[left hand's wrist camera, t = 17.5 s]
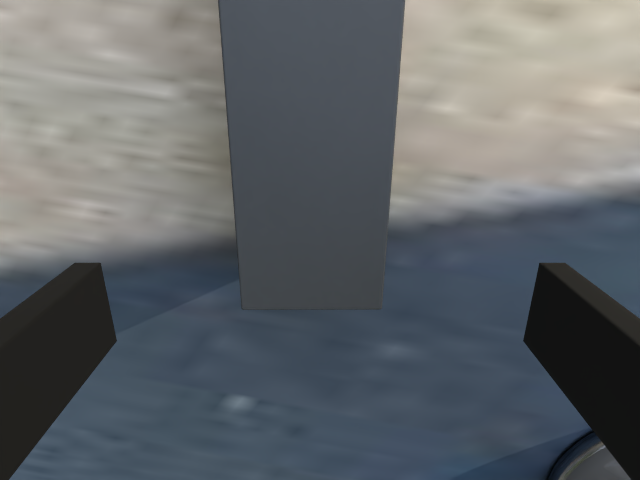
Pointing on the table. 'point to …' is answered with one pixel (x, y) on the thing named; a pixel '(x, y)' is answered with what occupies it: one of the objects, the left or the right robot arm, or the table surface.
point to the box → (311, 147)
